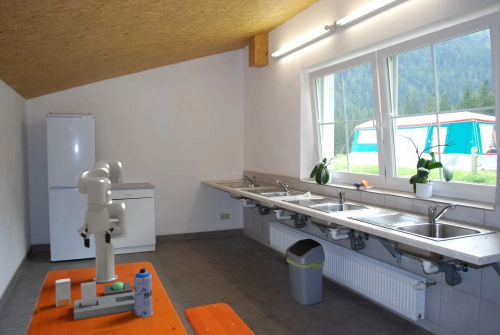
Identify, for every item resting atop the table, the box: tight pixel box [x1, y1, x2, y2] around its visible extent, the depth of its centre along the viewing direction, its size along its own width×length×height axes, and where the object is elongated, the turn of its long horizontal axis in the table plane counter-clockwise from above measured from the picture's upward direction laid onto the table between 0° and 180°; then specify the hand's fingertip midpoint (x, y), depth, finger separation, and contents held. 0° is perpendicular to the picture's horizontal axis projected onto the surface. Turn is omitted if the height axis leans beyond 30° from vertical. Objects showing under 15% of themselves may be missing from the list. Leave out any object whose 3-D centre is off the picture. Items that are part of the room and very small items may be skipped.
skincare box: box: [55, 278, 71, 308], centre depth 179 cm, size 6×4×12 cm
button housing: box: [103, 281, 133, 296], centre depth 192 cm, size 12×12×4 cm
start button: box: [112, 281, 124, 290], centre depth 192 cm, size 5×5×4 cm
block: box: [80, 281, 97, 308], centre depth 172 cm, size 4×6×12 cm, turn 114°
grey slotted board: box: [73, 291, 135, 321], centre depth 175 cm, size 14×27×4 cm, turn 114°
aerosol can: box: [133, 267, 154, 319], centre depth 170 cm, size 8×8×20 cm
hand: (97, 245), depth 174 cm, fingers open, 9 cm apart
